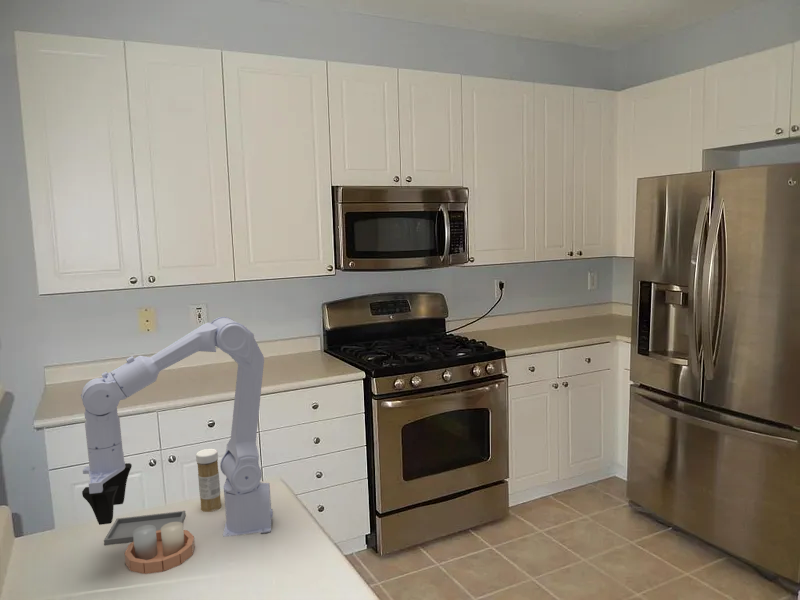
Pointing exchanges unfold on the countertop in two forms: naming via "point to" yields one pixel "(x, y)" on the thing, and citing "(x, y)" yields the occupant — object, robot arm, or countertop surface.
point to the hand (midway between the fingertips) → (111, 513)
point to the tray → (139, 525)
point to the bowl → (160, 556)
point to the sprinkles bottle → (208, 479)
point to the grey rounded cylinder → (145, 542)
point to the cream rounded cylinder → (172, 538)
